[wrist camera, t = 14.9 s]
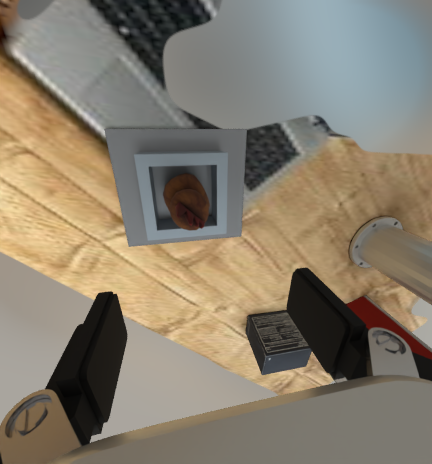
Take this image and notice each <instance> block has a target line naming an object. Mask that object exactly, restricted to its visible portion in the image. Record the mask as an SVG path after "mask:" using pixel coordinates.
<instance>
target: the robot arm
mask: <svg viewBox="0 0 432 464" xmlns="http://www.w3.org/2000/svg"><path fill="white" fill-rule="evenodd" d="M349 255H350V259H351V260H352V262H354V263H355V264H356V265H358V266H359V267H363V268H369V267H374V268H375V269H377V270H378V271H380V272H381V273H383V274H384V275H386V276H388V277H389V278H391V279H392V280H394V281H395V282H397V283H398V284H400V285H401V286H403V287H405V288H406V289H408V290H409V291H411V292H412V293H414V294H415V295H417V296H419V297H420V298H422V299H423V300H425V301H426V302H428V303H429V304H431V305H432V241H429V240H427V239H424V238H421V237H419V236H416V235H414V234H411V233H409V232H406V231H404V230H403V227H402V225H401V223H400V222H399V221H398V220H397V219H395V218H392V217H387V216H384V217H379V218H375V219H373V220H371V221H370V222H368V223H366V224H365V225H364V226H363V227H362V228H361V229H360V230H359V231H358V232H357V233H356V235H355V236H354V238H353V240H352V242H351V245H350V249H349ZM287 313H288V315H289V316H290V318H291V319H292V321H293V322H294V324H295V326H296V327H297V329H298V330H299V332H300V333H301V335H302V336H303V338H304V339H305V341H306V342H307V344H308V345H309V347H310V348H311V350H312V352H313V353H314V355H315V356H316V358H317V359H318V361H319V362H320V364H321V365H322V367H323V368H324V370H325V371H326V372H327V373H330V375H331V376H332V378H333V379H334V380H337V379H342V378H346V379H347V381H343V382H338V383H334V384H329V385H325V386H320V387H316V388H311V389H307V390H303V391H298V392H294V393H289V394H285V395H280V396H276V397H272V398H267V399H263V400H259V401H254V402H250V403H246V404H241V405H237V406H233V407H228V408H224V409H220V410H216V411H211V412H207V413H203V414H199V415H195V416H190V417H186V418H182V419H178V420H174V421H169V422H165V423H161V424H157V425H153V426H149V427H145V428H142V429H137V430H133V431H129V432H126V433H122V434H118V435H114V436H111V437H108V438H104V439H102V440H98V441H95V442H91V443H90V439H91V436H92V435H96V434H101V431H102V427H103V423H105V422H107V421H108V419H109V416H110V412H111V408H112V403H113V399H114V394H115V389H116V386H117V381H118V377H119V373H120V368H121V364H122V360H123V355H124V351H125V347H126V342H127V330H126V326H125V323H124V319H123V315H122V311H121V307H120V304H119V300H118V296H117V294H113V292H102V293H98V295H97V297H96V299H95V301H94V303H93V305H92V307H91V309H90V311H89V313H88V315H87V317H86V319H85V321H84V323H83V324H80V325H79V326H77V328H76V329H75V331H74V333H73V335H72V337H71V339H70V341H69V343H68V345H67V347H66V349H65V351H64V353H63V355H62V357H61V359H60V361H59V363H58V364H57V367H56V369H55V370H54V372H53V375H52V376H51V378H50V380H49V382H48V384H47V386H46V388H45V390H39V391H37V392H34V393H32V394H30V395H28V396H27V397H25V398H24V399H22V400H21V401H20V402H19V403H17V404H16V405H15V406H14V407H13V408H12V409H11V410H10V411H9V412H8V414H7V415H6V417H5V418H4V420H3V421H2V423H1V425H0V464H432V360H431V359H429V358H426V357H424V356H421V355H419V354H417V353H414V352H412V351H411V349H410V347H409V345H408V344H407V343H406V342H405V340H404V339H402V338H401V337H400V336H399V335H397V334H395V333H394V332H392V331H389V330H387V329H384V328H377V327H375V328H371V329H370V330H369V329H368V328H367V327H366V323H364V322H363V321H362V320H361V319H360V318H359V317H358V316H357V315H356V314H355V313H354V312H353V311H352V310H351V309H350V308H349V307H348V306H347V305H346V304H345V303H344V302H343V301H342V300H341V299H340V298H339V297H337V296H336V295H335V294H334V293H333V292H332V291H331V290H330V289H329V288H328V287H327V286H326V285H325V284H324V283H323V282H322V281H321V280H320V279H319V278H318V277H317V276H316V275H315V274H314V273H313V272H312V271H310V270H309V269H308V268H299V269H296V270H295V272H293V275H292V280H291V286H290V291H289V297H288V302H287Z"/></svg>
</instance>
